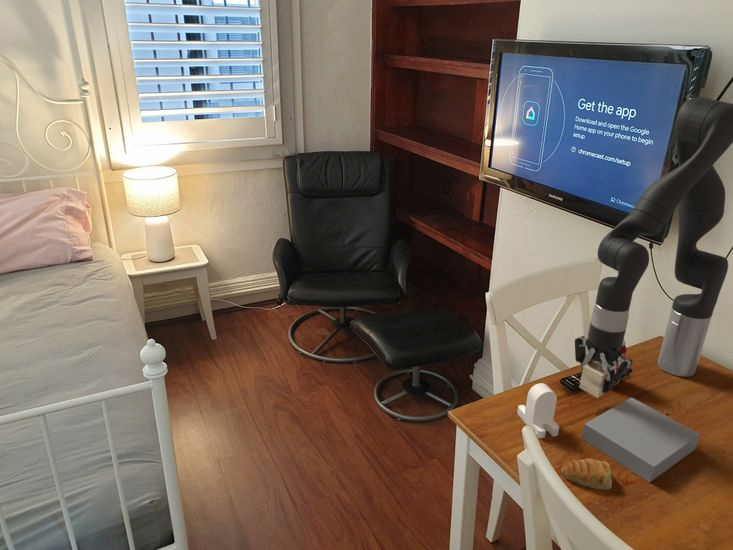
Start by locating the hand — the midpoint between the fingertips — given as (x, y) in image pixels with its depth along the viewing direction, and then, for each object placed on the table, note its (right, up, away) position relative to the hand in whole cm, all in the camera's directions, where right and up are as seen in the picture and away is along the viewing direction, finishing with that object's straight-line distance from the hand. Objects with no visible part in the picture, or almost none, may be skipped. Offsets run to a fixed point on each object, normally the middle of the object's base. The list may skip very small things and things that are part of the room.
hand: (595, 385), depth 134 cm
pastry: (-9, -15, -20) cm, 27 cm away
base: (+5, -11, -10) cm, 16 cm away
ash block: (0, -1, 0) cm, 1 cm away
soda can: (+8, -1, +13) cm, 15 cm away
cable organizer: (-15, -8, -4) cm, 18 cm away
